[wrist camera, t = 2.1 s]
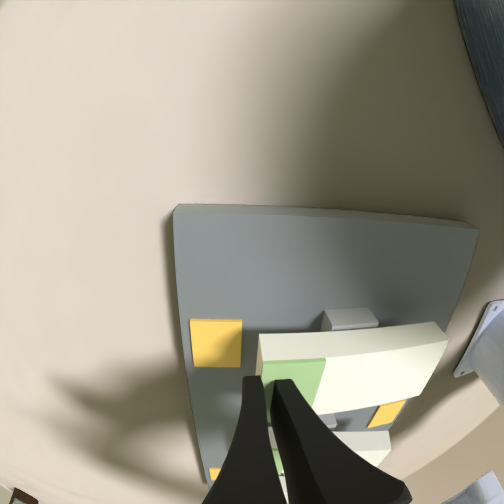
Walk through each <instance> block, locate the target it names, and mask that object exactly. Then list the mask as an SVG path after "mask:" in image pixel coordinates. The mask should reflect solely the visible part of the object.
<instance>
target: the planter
mask: <svg viewBox="0 0 504 504" xmlns="http://www.w3.org/2000/svg"><path fill="white" fill-rule="evenodd" d="M455 4H456V9H457V14H458V18H459V22H460V25H461V29H462V33H463V36H464V40H465V43H466V47H467V50H468V53H469V56H470V59H471V62H472V65H473V68H474V72H475V74H476V77H477V80H478V83H479V86H480V89H481V92H482V94H483V97H484V100H485V103H486V105H487V108H488V111H489V113H490V116H491V118H492V121H493V123H494V126H495V128H496V131H497V133H498V135H499V137H500V140H501V142H502V144H503V146H504V0H455Z"/></svg>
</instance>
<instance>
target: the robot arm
mask: <svg viewBox="0 0 504 504" xmlns="http://www.w3.org/2000/svg"><path fill="white" fill-rule="evenodd" d="M474 371H475V372H476V373H477V375H478V376H479V377H480V379H481V380H482V381H483V382H484V384H485V385H486V386H487V388H488V389H489V390H490V392H491V393H492V395H493V396H494V397H495V399H496V400H497V401H498V403H499V404H500V406H501V407H502V408H503V410H504V300H499V301H493V302H490V303H489V304H488V306H487V308H486V310H485V312H484V315H483V317H482V319H481V321H480V324H479V326H478V328H477V330H476V332H475V334H474V336H473V338H472V340H471V342H470V344H469V346H468V348H467V350H466V352H465V354H464V355H463V357H462V359H461V361H460V363H459V364H458V366H457V368H456V370H455V371H454V373H453V376H454V377H455V378H457V377H460V376H463V375H466V374H469V373H471V372H474ZM270 418H271V425H272V429H273V433H274V437H275V440H276V444H277V448H278V451H279V455H280V459H281V462H282V466H283V470H284V475H285V481H286V488H287V495H288V502H289V504H409V503H410V502H411V501H412V496H411V494H410V492H409V490H408V488H407V487H406V485H405V483H404V482H403V481H401V480H399V479H396V478H394V477H392V476H391V475H389V474H387V473H385V472H383V471H382V470H380V469H378V468H377V467H375V466H373V465H372V464H370V463H369V462H368V461H366V460H365V459H363V458H362V457H361V456H359V455H358V454H356V453H355V452H354V451H353V450H351V449H350V448H349V447H348V446H347V445H346V444H344V443H343V442H342V441H341V440H340V439H339V438H338V437H337V436H336V435H335V434H334V433H333V432H332V431H331V430H330V429H329V428H328V427H327V426H326V425H325V423H324V422H323V421H322V420H321V419H320V418H319V416H318V415H317V414H316V413H315V411H314V410H313V409H312V408H311V406H310V405H309V404H308V402H307V401H306V400H305V398H304V397H303V395H302V394H301V392H300V391H299V389H298V388H297V386H296V385H295V383H294V381H293V380H292V379H278V380H275V383H274V389H273V395H272V401H271V407H270ZM202 504H287V501H286V498H285V495H284V492H283V489H282V485H281V482H280V479H279V475H278V471H277V467H276V464H275V460H274V456H273V452H272V447H271V443H270V438H269V432H268V421H267V410H266V399H265V390H264V386H263V382H262V380H261V376H260V375H256V376H245V377H243V379H242V401H241V410H240V415H239V419H238V423H237V427H236V430H235V433H234V437H233V440H232V443H231V446H230V448H229V451H228V453H227V456H226V458H225V461H224V463H223V465H222V468H221V470H220V472H219V474H218V476H217V478H216V480H215V482H214V484H213V485H212V487H211V489H210V491H209V493H208V495H207V496H206V498H205V500H204V501H203V503H202ZM441 504H504V491H503V489H502V487H501V485H500V483H499V481H498V480H497V478H496V476H495V474H494V473H493V471H492V470H490V471H488V472H487V473H486V474H485V475H483V476H482V477H480V478H479V479H477V480H476V481H475V482H473V483H472V484H471V485H469V486H468V487H467V488H466V489H464V490H463V491H461V492H460V493H458V494H456V495H455V496H453V497H451V498H450V499H448V500H446V501H445V502H443V503H441Z"/></svg>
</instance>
